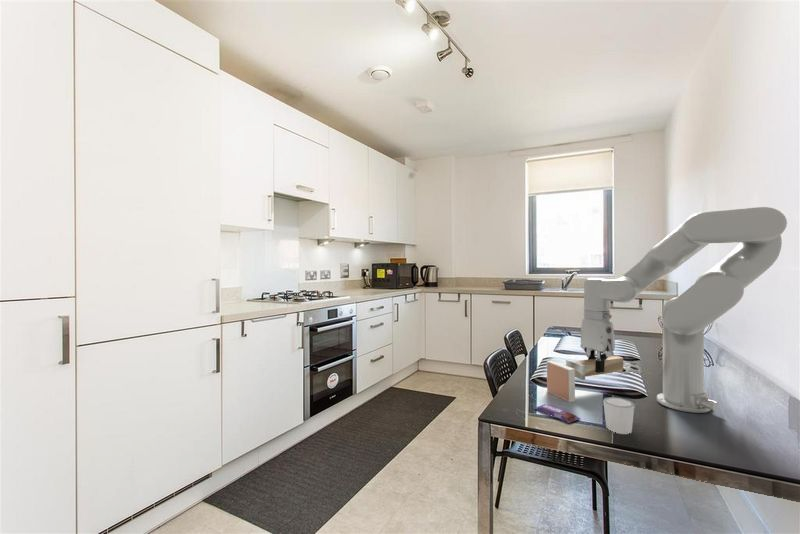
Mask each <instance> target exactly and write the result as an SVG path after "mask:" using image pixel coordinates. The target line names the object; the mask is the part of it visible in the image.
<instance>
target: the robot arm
mask: <svg viewBox="0 0 800 534" xmlns="http://www.w3.org/2000/svg"><path fill="white" fill-rule="evenodd" d="M787 224H788V221H787V218H786V216H785V215H784V213H783V212H782V211H780V210H778V209H776V208H774V207H768V206H760V207H759V206H758V207H747V208H736V209H726V210H715V211H714V210H713V211H701V212H697V213H694V214H692V215H690V216H689V217H687V219H685V221H684V222H683V223H681V224H680V225H679V226H677V227H676V228H674V230H672V231H671V232H670V233H669V234H668V235H666V236H665V237H664V238H663V239H662V240H661V241H659V242H658V243H657V244H656V245H653V247H652V248H651V249H650V250H649V251H648V252H647V253H646V254H645V255H644V256H643V257H642V258H641V260H640V261H639V262H637V263H636V264H635V265H634V266H633V267H632V268H630V269H629V270H628V271H626V272H625V273H624V274H623V275H622V276H620V277H619V278H615V279H608V278H604V277H588V278H586V279H585V280H584V283H583V318H582V320H581V321H582V322H581V327H580V328H581V329H580V348H581V349H582V350H583V351H584V352H585V354H586V355H585V356H586V358H587V360H588V359H597V360H596V372H597V373H600V372H604V365H605V360H606V359H607V358H608V357H611V356H615V353H614V351H615V348H616V344H615V342H616V341H615V340H616V339H615V330H614V325H613V321H612V320H610V319H612V314H611V313H610V311H611V308H610V306H611V302H616V303H621V304H623V303H624V304H625V303H629V302H632V301H634V300H635V299H636V298H637V296H638V295H640V294H641V293H642V292H644V290H646V289H647V288H649V287H650V286H651V285H652V284H653V283H655V282H656V281H658V280H659V279H661V278H662V277H665V276H667V275H669V274H670V273H672V272H673V271H675V270H677V269H678V268H680V266H681V265H684V263H686V262H687V261H688V260H690V259H691V258H692V257H693V256H695V255H696V254H698V253H699V252H700V251H701V250H703V249H704V248H705V247H707V246H708V245H709V244H727V243H728V244H729V243H737V245H736V246H735V248H733V250H732V251H731V252H729V253H728V254H727V255H726V256H725V257H724V258H722V260H720V261H719V262H718V263H716V264H715V265H714V266H712V267H711V268H710V269H709V270H707V271H706V272H704V273H702V274H700V276H699V277H698V278H697V279H696V280H695V282H694V284H692V285H691V286H690V287H689V288H687V289H686V290H685V291H683V292H682V293H681V294H680V295H678V296H676V297H673V298H670V299H669V300H668V301H666V302H665V304H664V305H663V306H662V308H661V320H662V392H661V393H658V394H657V395H656V401H657V402H658V403H659V404H660V405H662V406H665V407H666V408H669V409H673V410H676V411H681V412H686V413H695V414H696V413H697V414H702V413H708V412H711V411H713V412H716V411H718V407H719V402H718V401H716V400H712V399H709V393H707V392H705V377H704V376H705V369H704V367H705V366H704V365H705V363H704V362H705V361H704V360H705V358H704V354H705V345H704V344H705V343H704V341H705V338H704V337H705V335H704V334H705V333H704V332H705V331H704V330H705V328H707V327H708V326H710V325H711V324H713V322H715V321H716V320H718V319H719V318H720V317H722V316H723V315H724V314H726V313H727V312H728V311H730V310H731V309H733V308H734V307H735V306H736V305H737V304H738V303H739V302H740V301H741V300H742V298H743V297H744V293H745V292H744V291H745V288H746V287H748V286H750V284H752V283H753V282H754V281H756V280H757V279H758V278H759V277H760V276H762V275H763V274H764V273H765V272H766V271H768V270H769V269H770V268H771V267H772V266H773V265H774V263H775V262H776V261H777V260H778V259H779V256H780V253H781V250H782V243H783V242H782V241H783V240H782V234H783V233H784V231H785V230H786V228H787V227H788V226H787Z"/></svg>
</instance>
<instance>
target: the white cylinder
mask: <svg viewBox="0 0 800 534" xmlns="http://www.w3.org/2000/svg"><path fill="white" fill-rule="evenodd" d="M602 403H603V409H604V410H603V411H604V418H605V419H604V420H605V427H606V429H607V428H608V429H609V430H608V429H607V430H608V431H610V430H611V431H610V432H612V431H613V433H615V432H616V433H615V434H619V435H630V434H632V432H633V422H634V412H635V403H633V402H632V401H631V400H629V399H625V398H621V397H614V396H613V397H612V396H611V397H605V398H603V400H602ZM629 433H630V434H629Z"/></svg>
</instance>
